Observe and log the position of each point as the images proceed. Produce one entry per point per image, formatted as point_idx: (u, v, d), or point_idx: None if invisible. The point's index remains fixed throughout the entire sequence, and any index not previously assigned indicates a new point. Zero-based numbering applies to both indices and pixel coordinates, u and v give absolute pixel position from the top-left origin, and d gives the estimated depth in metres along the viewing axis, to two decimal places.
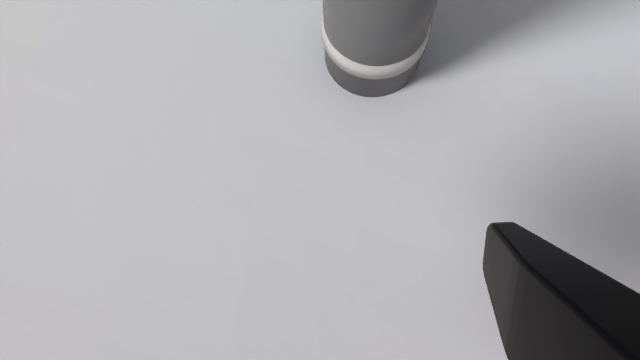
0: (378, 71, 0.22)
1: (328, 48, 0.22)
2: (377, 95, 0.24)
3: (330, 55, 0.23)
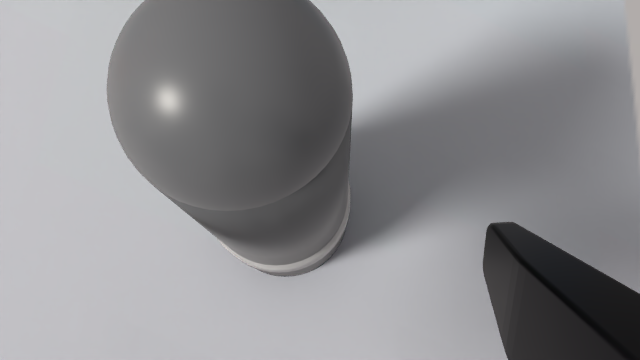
0: (279, 269, 0.16)
1: None
2: (291, 275, 0.19)
3: None
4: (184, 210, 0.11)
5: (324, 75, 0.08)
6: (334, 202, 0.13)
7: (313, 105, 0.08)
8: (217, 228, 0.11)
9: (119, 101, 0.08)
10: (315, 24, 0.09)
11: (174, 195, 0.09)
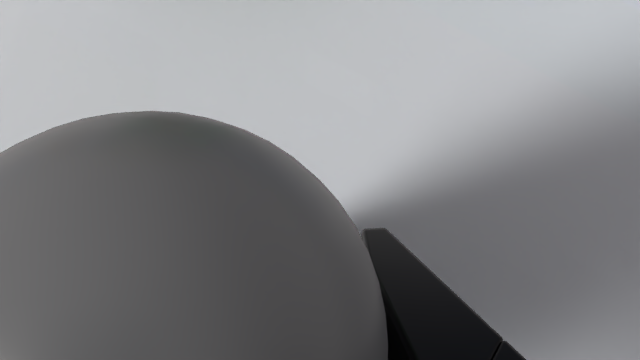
0: None
1: None
2: None
3: None
4: None
5: None
6: None
7: None
8: None
9: None
10: (314, 261, 0.04)
11: None
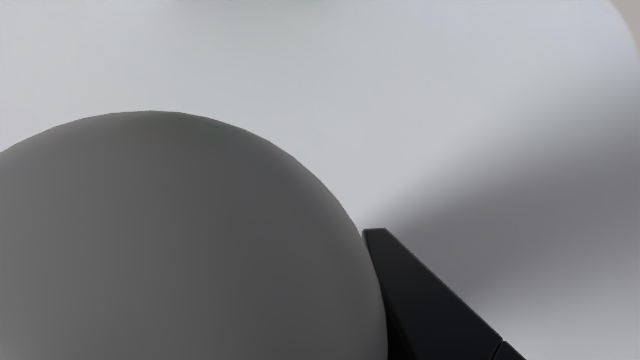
0: None
1: None
2: None
3: None
4: None
5: None
6: None
7: None
8: None
9: None
10: (314, 261, 0.04)
11: None
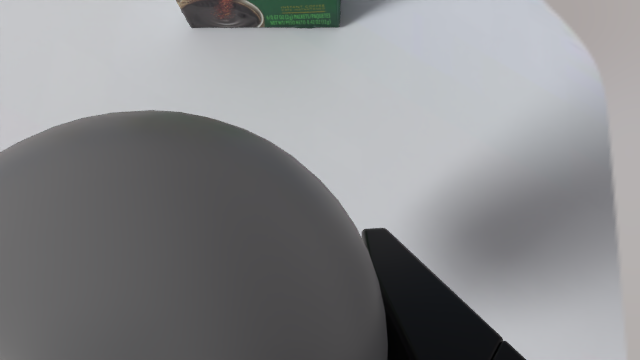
0: None
1: None
2: None
3: None
4: None
5: None
6: None
7: None
8: None
9: None
10: (313, 261, 0.04)
11: None
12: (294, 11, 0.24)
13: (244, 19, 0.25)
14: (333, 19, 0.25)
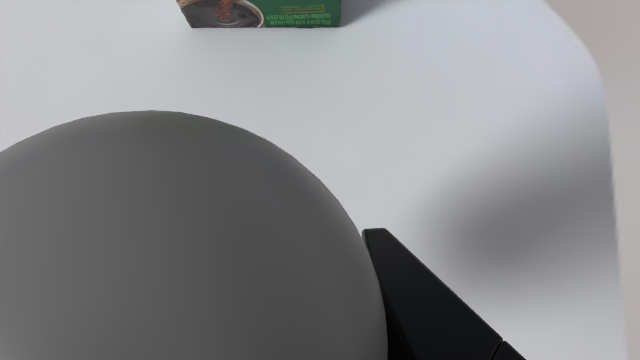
0: None
1: None
2: None
3: None
4: None
5: None
6: None
7: None
8: None
9: None
10: (313, 261, 0.04)
11: None
12: (294, 11, 0.24)
13: (244, 19, 0.25)
14: (333, 19, 0.25)
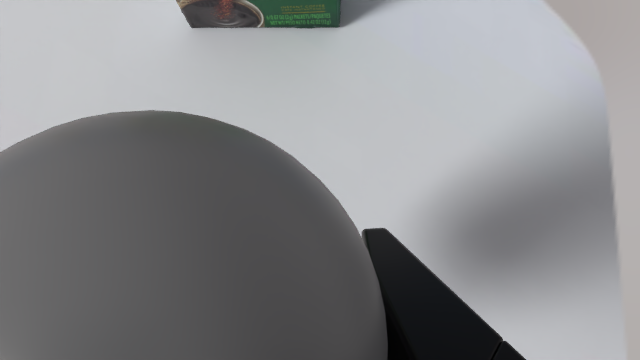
0: None
1: None
2: None
3: None
4: None
5: None
6: None
7: None
8: None
9: None
10: (313, 261, 0.04)
11: None
12: (294, 11, 0.24)
13: (244, 19, 0.25)
14: (333, 19, 0.25)
